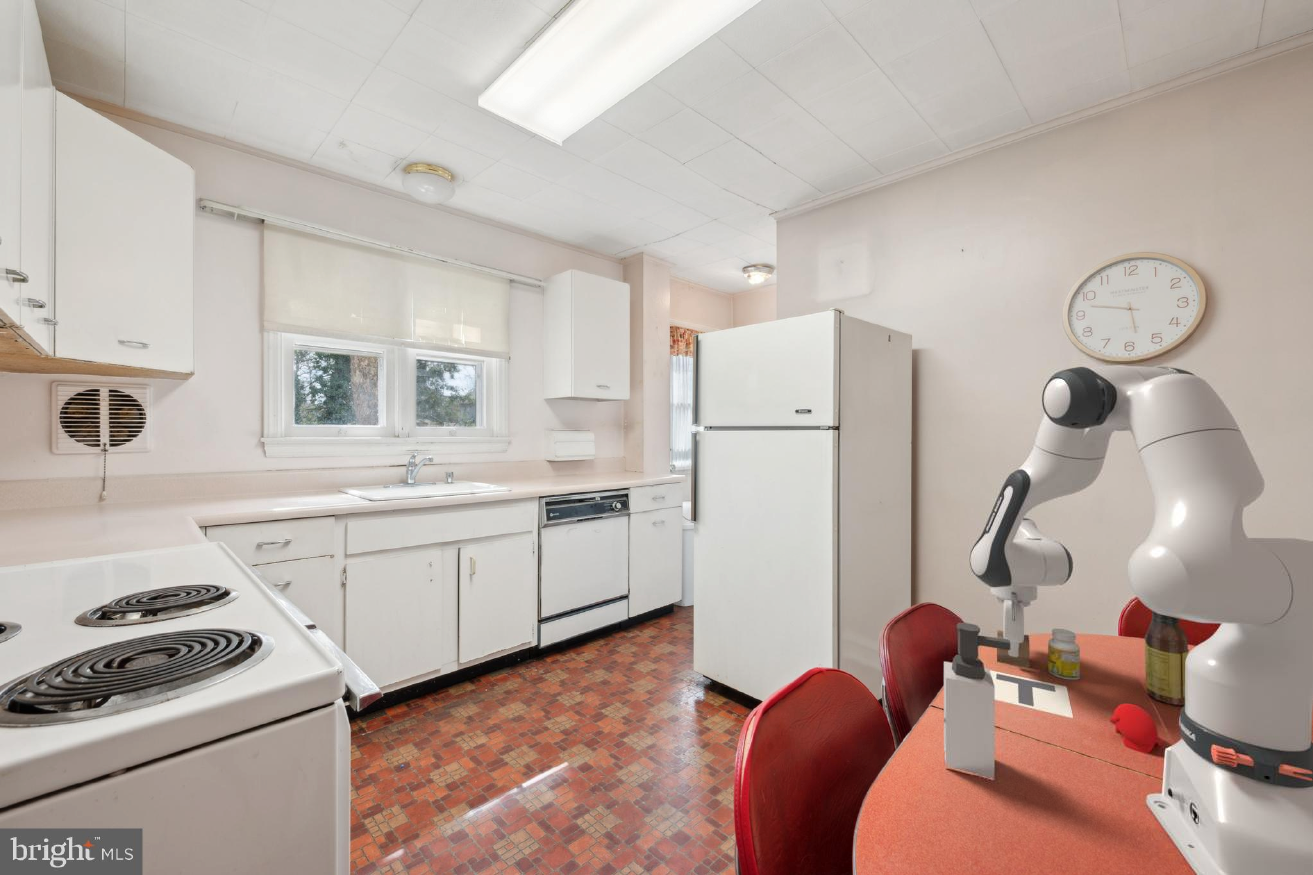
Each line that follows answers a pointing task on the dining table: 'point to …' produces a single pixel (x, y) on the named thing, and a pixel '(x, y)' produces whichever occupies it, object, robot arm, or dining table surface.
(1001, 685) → the letter tile
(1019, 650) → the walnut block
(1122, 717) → the red rounded lump
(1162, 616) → the sauce bottle
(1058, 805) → the dining table surface
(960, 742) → the soap dispenser
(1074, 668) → the supplement bottle
